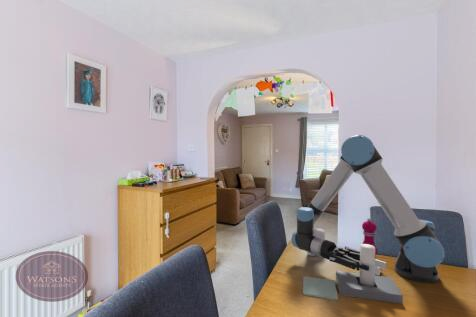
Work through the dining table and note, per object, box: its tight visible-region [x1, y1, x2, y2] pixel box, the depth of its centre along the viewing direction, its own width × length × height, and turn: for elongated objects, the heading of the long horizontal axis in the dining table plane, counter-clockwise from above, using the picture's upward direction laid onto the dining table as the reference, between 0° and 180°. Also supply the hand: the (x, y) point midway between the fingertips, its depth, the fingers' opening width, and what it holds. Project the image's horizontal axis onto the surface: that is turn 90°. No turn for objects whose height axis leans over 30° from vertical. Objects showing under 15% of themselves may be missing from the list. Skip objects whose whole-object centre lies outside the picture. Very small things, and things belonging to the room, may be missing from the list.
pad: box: [302, 276, 339, 301], centre depth 93 cm, size 12×12×1 cm
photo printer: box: [306, 228, 326, 257], centre depth 124 cm, size 10×4×12 cm, turn 123°
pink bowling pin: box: [361, 217, 378, 259], centre depth 116 cm, size 7×7×20 cm
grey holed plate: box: [335, 270, 404, 305], centre depth 92 cm, size 20×12×3 cm, turn 74°
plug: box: [359, 243, 376, 287], centre depth 92 cm, size 5×5×16 cm
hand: (382, 268), depth 88 cm, fingers closed on plug, 5 cm apart
